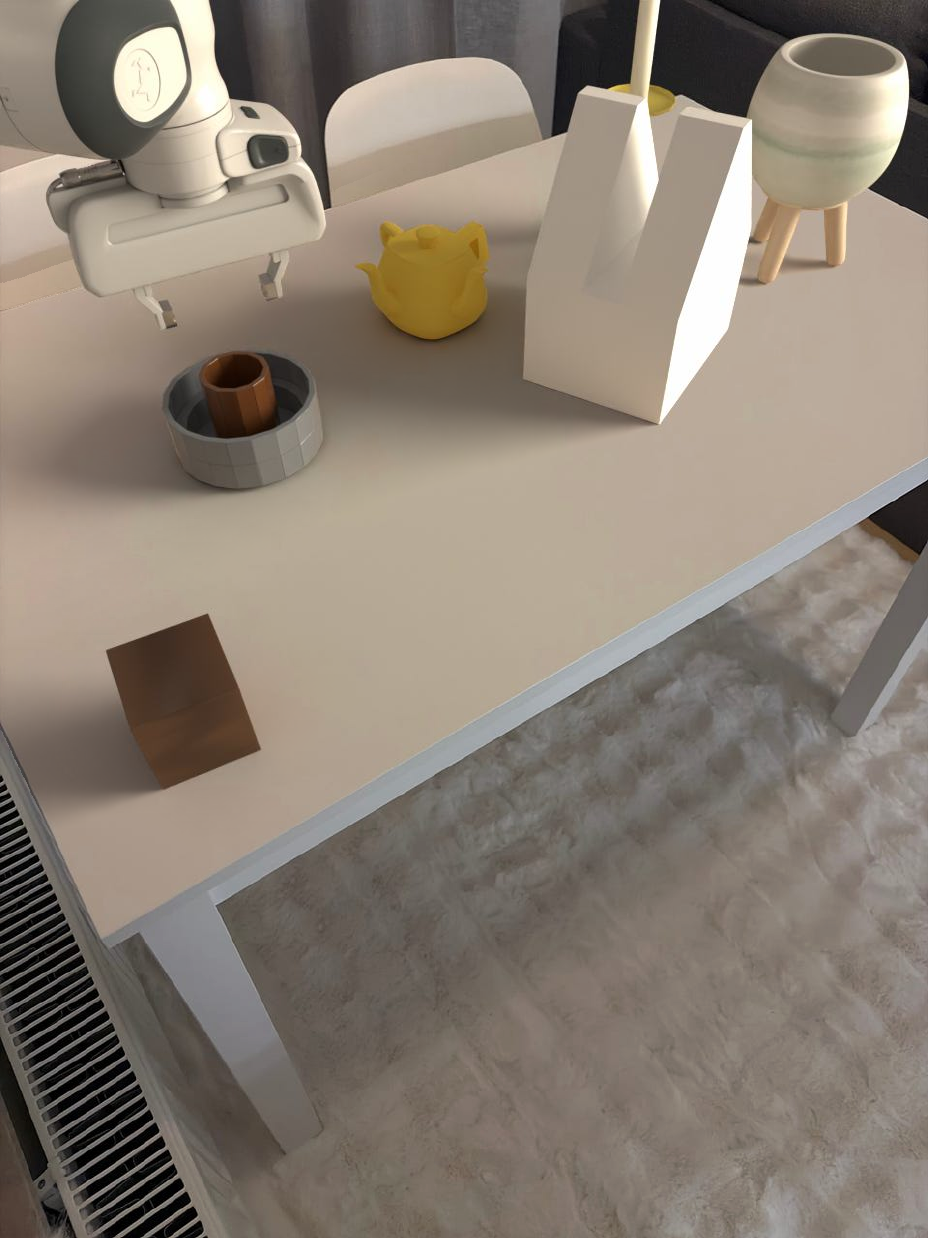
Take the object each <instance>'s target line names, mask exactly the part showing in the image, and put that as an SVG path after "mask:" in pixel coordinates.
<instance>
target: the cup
mask: <svg viewBox="0 0 928 1238" xmlns="http://www.w3.org/2000/svg"><path fill="white" fill-rule="evenodd" d="M230 351H231V352H227V351H226V352H227V353H224V352H223V353H224V354H220V353H219V354H220V355H217V354H215V355H216V356H214V357H213V358H212V359H210V360H209V361H207V362H206V363H205V364H203V365H202V368H201V370H200V373H199V380H200V383H201V387H202V390H203V394H204V397H205V401H206V404H207V408H208V411H209V414H210V418H211V421H212V425H213V428H214V432H215V435H216V438H223V439H230V438H239V437H249V436H252V435H256V434H259V433H262V432H265V431H269V430H272V429H274V428H276V427H277V426H279V425H281V422H280V417H279V413H278V408H277V403H276V399H275V394H274V389H273V385H272V380H271V376H270V371H269V366H268V365H267V363H266V361H265V360H264V358H263V357H262V356H259V355H257V354H255V353H252V352H249V351H235V350H230ZM232 351H233V352H232Z"/></svg>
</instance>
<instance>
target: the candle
mask: <svg viewBox="0 0 928 1238" xmlns="http://www.w3.org/2000/svg"><path fill="white" fill-rule="evenodd" d="M660 3H661V0H639V4H638V13H637V22H636V28H635V29H636V30H635V38H634V39H635V40H634V49H633V56H632V57H633V58H632V66H631V75H630V83H625V84H617V85H615V86H612V87H610V88H607V90H612V91H617V92H621V93H626V94H631V95H636V96H641V97H646V98H647V104H648V111H649V118H651V117H656V116H657V117H658V116H662V115H663V114H666V113H669V112H670V111H671V110H672V109H673V108H674V107H675V105H676V95H674V94H673V93H672V92H671V91H670V90H668V89H666V88H663V87H661V86H659V85H658V86H657V85H652V84H650V83H651V82H650V81H651V74H652V65H653V60H654V59H653V57H654V51H655V44H656V34H657V26H658V19H659V10H660Z"/></svg>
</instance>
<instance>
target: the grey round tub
mask: <svg viewBox="0 0 928 1238" xmlns="http://www.w3.org/2000/svg"><path fill="white" fill-rule="evenodd" d="M231 351H232V352H233V351H249V352H252V353H255V354H257V355H259V356H262V357H263V358H264V360H265V361H266V363H267V365H268V366H269V371H270V376H271V380H272V385H273V389H274V394H275V399H276V403H277V408H278V413H279V417H280V422H281V425H279V426H277V427H276V428H274V429H272V430H269V431H265V432H262V433H259V434H256V435H252V436H249V437H239V438H230V439H223V438H216V435H215V432H214V428H213V425H212V421H211V418H210V414H209V411H208V408H207V404H206V401H205V397H204V394H203V390H202V387H201V383H200V380H199V373H200V370H201V368H202V365H203V364H205V363H206V362H207V361H209V360H210V359H212V358H213V357H214V356H216V355H220V354H224V353H227V352H231ZM161 410H162V414H163V417H164V419H165V423H166V425H167V429H168V431H169V434H170V438H171V440H172V443H173V446H174V449H175V452H176V455H177V458H178V459H179V462H180V464H181V467H182V468H183V469H184V470H185V471H186V472H187V473H189V474H190V475H191V476H192V477H194V479H196V480H197V481H200V482H202V483H206V484H208V485H211V486H214V487H217V488H228V489H236V490H238V489H240V490H241V489H248V488H249V489H250V488H257V487H264V486H268V485H270V484H273V483H277V482H278V481H282V480H285V479H287V478H289V477H290V476H292V475H294V474H296V473H297V472H299V471H300V470H302V469H303V468H305V467H306V466H307V465H308V464H309V463H310V462H311V461H312V460H313V459H314V458H315V457H316V456H317V454H318V452H319V450H320V447H321V445H322V442H323V441H324V426H323V419H322V413H321V408H320V403H319V395H318V390H317V386H316V380H315V377H314V375H313V374H312V372H311V371H310V370H309V368H308V366H307V365H306V364H304V363H303V362H301V361H299V360H298V359H296V358H295V357H293V356H291V355H288V354H285V353H283V352H280V351H276V350H269V349H256V348H245V349H236V350H228V351H224V352H220V353H217V354H214V355H209V356H206V357H205V358H202V359H200V360H199V361H196V362H194V363H193V364H190V365H189V366H187V367H186V368H184V369H183V370H181V372H179V373H178V374H176V376H175V377H174V378H172V379H171V381H170V383H169V384H168V385H167V388H165V391H164V392H163V394H162V403H161Z"/></svg>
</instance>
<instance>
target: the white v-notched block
mask: <svg viewBox="0 0 928 1238" xmlns="http://www.w3.org/2000/svg"><path fill="white" fill-rule="evenodd" d="M607 89H608V88H607ZM607 89H606V88H603V87H602V88H601V87H598V86H597V87H596V86H592V85H586V86H585V87H584V88H583V89H581V90H580V91H579V92H578V93H577V95H576V99H575V102H574V106H573V110H572V114H571V117H570V121H569V125H568V128H567V131H566V135H565V138H564V143H563V145H562V149H561V153H560V158H559V161H558V164H557V167H556V171H555V175H554V178H553V182H552V186H551V189H550V193H549V197H548V200H547V204H546V207H545V211H544V215H543V219H542V222H541V225H540V228H539V233H538V237H537V240H536V243H535V247H534V250H533V254H532V257H531V262H530V264H529V265H530V266H529V269H528V272H527V276H526V290H525V291H526V293H525V319H524V321H525V322H524V344H523V346H524V349H523V370H522V371H523V374H522V376H523V377H522V380H524V381H528V382H531V383H534V384H536V385H540V386H543V387H545V388H548V389H551V390H555V391H557V392H560V393H563V394H565V395H566V394H567V395H569V396H573V397H575V398H579V399H581V400H585V401H588V402H591V403H594V404H596V405H600V406H602V407H604V408H609V409H611V410H615V411H617V412H620V413H623V414H625V415H628V416H631V417H632V416H633V417H635V418H638V419H640V420H641V419H642V420H644V421H647V422H650V423H653V424H656V425H661V423H662V422H663V420H664V419H665V417H666V416H667V415H668V414H669V412H670V410H671V409H672V408H673V406H674V405H675V404H676V402H677V400H678V399H679V398H680V397H681V395H682V393H683V392H684V391H685V390H686V388H687V387H688V385H689V384H690V382H691V381H692V379H693V378H694V377H695V376H696V374H697V373H698V371H699V370H700V368H701V367H702V366H703V365H704V363H705V361H706V360H707V358H708V357H709V356H710V354H711V353H712V352H713V350H714V349H715V347H716V346H717V344H718V343H719V342H720V340H721V339H722V338H723V336H724V335H725V334H726V332H727V331H728V329H729V327H730V326H729V325H730V321H731V317H732V312H733V307H734V303H735V300H736V295H737V291H738V286H739V283H740V277H741V273H742V269H743V265H744V260H745V256H746V252H747V247H748V243H749V239H750V234H751V230H752V174H751V157H752V119H747V118H746V117H742V116H737V115H733V114H727V113H722V112H719V111H713V110H708V109H704V108H698V107H694V106H689V105H688V106H685V108H684V109H683V110H682V111H681V112H680V113H679V114H678V116H677V120H676V123H675V126H674V129H673V132H672V136H671V139H670V142H669V145H668V149H667V151H666V154H665V157H664V161H663V164H662V167H661V169H660V170H661V171H660V174H659V173H658V165H657V160H656V153H655V145H654V138H653V131H652V126H651V117H649V111H648V104H647V98H646V97H641V96H636V95H631V94H626V93H621V92H617V91H612V90H607Z"/></svg>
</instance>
